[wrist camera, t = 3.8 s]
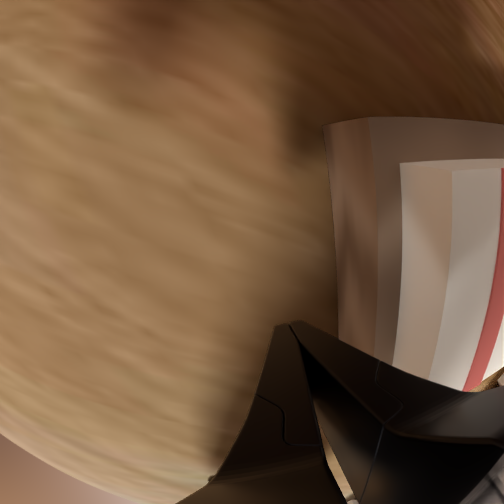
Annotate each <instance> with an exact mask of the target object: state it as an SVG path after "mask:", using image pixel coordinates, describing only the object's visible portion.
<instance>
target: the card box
mask: <svg viewBox="0 0 504 504" xmlns="http://www.w3.org/2000/svg"><path fill="white" fill-rule="evenodd" d="M400 176H401V194H402V273H401V291H400V304H399V316H398V326H397V334H396V343H395V350H394V357H393V364H392V366H394V367H396V368H398V369H401V370H403V371H405V372H408V373H410V374H413V375H415V376H418V377H421V378H424V379H427V380H429V381H432V382H435V383H438V384H441V385H444V386H448V387H451V388H454V389H457V390H460V391H465V392H468V391H470V390H471V389H473V388H475V387H476V386H478V385H479V384H481V381H483V380H484V379H486V378H487V377H489V376H490V375H492V374H493V373H495V372H496V371H498V370H499V369H501V368H502V367H504V159H460V160H438V161H422V162H408V163H400Z"/></svg>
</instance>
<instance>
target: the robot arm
mask: <svg viewBox="0 0 504 504" xmlns="http://www.w3.org/2000/svg"><path fill="white" fill-rule="evenodd" d="M317 419H318V420H317ZM318 421H319V423H320V425H321V427H322V429H323V431H324V433H325V436H326V438H327V440H328V442H329V444H330V446H331V448H332V450H333V452H334V454H335V456H336V458H337V460H338V462H339V464H340V466H341V469H342V471H343V473H344V475H345V477H346V479H347V481H348V483H349V485H350V487H351V489H352V491H353V493H354V495H355V497H356V499H357V501H358V503H359V504H504V385H503V386H500V387H497V388H493V389H489V390H486V391H481V392H465V391H460V390H457V389H454V388H451V387H448V386H444V385H441V384H438V383H435V382H432V381H429V380H427V379H424V378H421V377H418V376H415V375H413V374H410V373H408V372H405V371H403V370H401V369H398V368H396V367H394V366H392V365H390V364H388V363H385V362H383V361H380V360H379V359H377V358H375V357H373V356H371V355H369V354H367V353H365V352H363V351H361V350H359V349H357V348H355V347H353V346H351V345H349V344H347V343H345V342H343V341H341V340H339V339H337V338H336V337H334V336H332V335H330V334H328V333H326V332H324V331H322V330H320V329H318V328H316V327H314V326H312V325H311V324H309V323H307V322H305V321H303V320H297V321H293V322H290V323H289V324H287V323H284V324H280V325H276V326H274V328H273V332H272V336H271V339H270V343H269V346H268V350H267V353H266V356H265V360H264V363H263V367H262V370H261V373H260V377H259V380H258V384H257V387H256V390H255V393H254V396H253V399H252V403H251V406H250V409H249V411H248V414H247V417H246V419H245V421H244V424H243V426H242V428H241V430H240V432H239V434H238V436H237V438H236V439H235V441H234V443H233V445H232V447H231V449H230V451H229V452H228V454H227V456H226V458H225V460H224V461H223V463H222V465H221V467H220V468H219V470H218V472H217V473H216V475H215V476H214V477H213V479H212V480H211V481H210V482H208V484H207V485H205V486H204V487H203V488H201V489H199V490H198V491H196V492H195V493H193V494H191V495H190V496H188V497H186V498H185V499H183V500H181V501H179V502H178V503H176V504H347V502H346V500H345V498H344V496H343V494H342V492H341V490H340V488H339V486H338V484H337V482H336V480H335V478H334V476H333V474H332V472H331V470H330V468H329V466H328V463H327V460H326V456H325V452H324V448H323V443H322V438H321V434H320V429H319V425H318Z"/></svg>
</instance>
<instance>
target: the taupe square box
mask: <svg viewBox="0 0 504 504" xmlns="http://www.w3.org/2000/svg"><path fill="white" fill-rule="evenodd" d="M322 127H323V134H324V141H325V149H326V156H327V164H328V173H329V181H330V191H331V201H332V212H333V223H334V236H335V251H336V268H337V290H338V332H339V340H341V341H343V342H345V343H347V344H349V345H351V346H353V347H355V348H357V349H359V350H361V351H363V352H365V353H367V354H369V355H371V356H373V357H375V358H377V359H379V360H380V361H383V362H385V363H388V364H390V365H392V364H393V357H394V350H395V343H396V334H397V326H398V316H399V304H400V291H401V273H402V194H401V176H400V163H408V162H422V161H438V160H460V159H504V124H496V123H489V122H480V121H470V120H459V119H446V118H427V117H365V118H359V119H353V120H348V121H342V122H337V123H332V124H327V125H322Z"/></svg>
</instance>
